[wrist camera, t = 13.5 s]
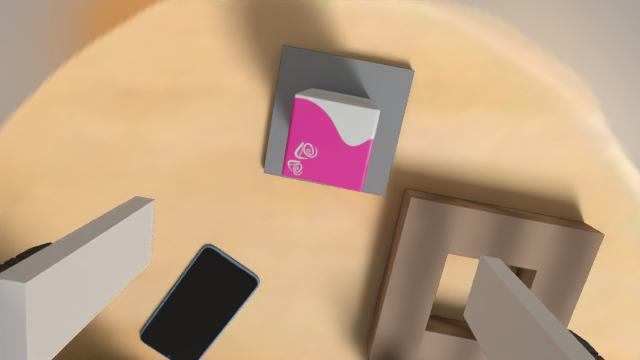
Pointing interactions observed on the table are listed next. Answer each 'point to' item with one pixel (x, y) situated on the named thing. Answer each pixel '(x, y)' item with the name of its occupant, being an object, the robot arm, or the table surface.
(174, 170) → the table surface
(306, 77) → the mat
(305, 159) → the supplement box
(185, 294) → the smartphone
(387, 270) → the holder
